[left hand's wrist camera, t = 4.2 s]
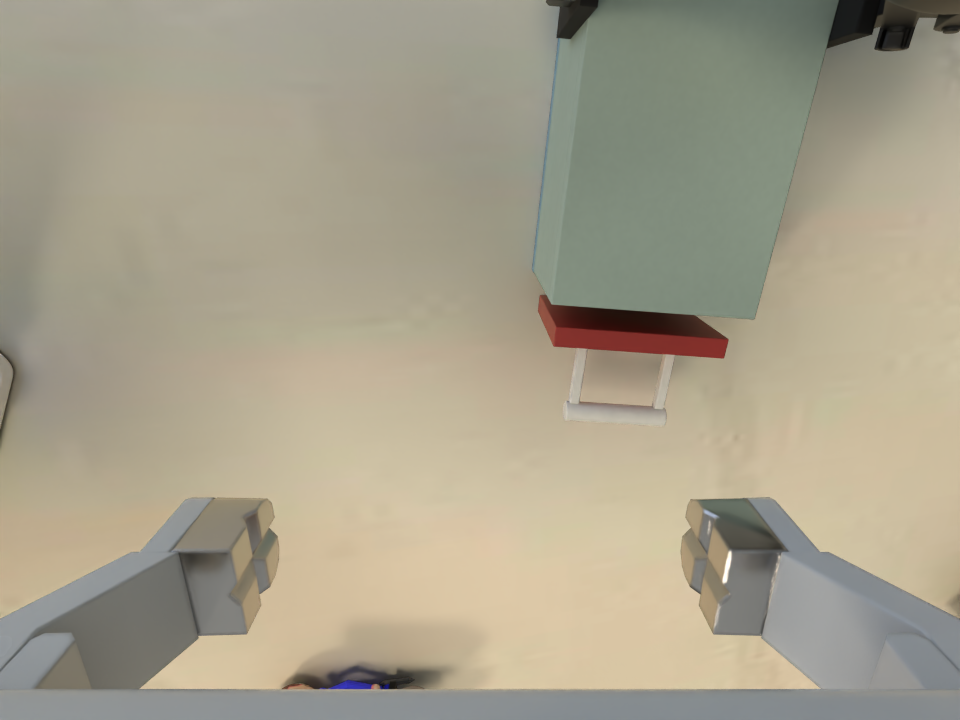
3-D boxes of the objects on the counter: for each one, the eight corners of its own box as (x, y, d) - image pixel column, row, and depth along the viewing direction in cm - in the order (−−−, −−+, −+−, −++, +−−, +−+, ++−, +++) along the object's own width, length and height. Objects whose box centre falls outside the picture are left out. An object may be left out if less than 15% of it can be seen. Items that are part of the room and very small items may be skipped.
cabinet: (688, 282, 39) (755, 320, 30) (532, 270, 38) (551, 304, 29) (751, -11, 33) (860, -77, 23) (565, -30, 32) (603, -105, 23)
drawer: (661, 395, 41) (702, 446, 33) (528, 386, 40) (541, 435, 33) (732, 61, 33) (805, 34, 26) (569, 46, 33) (597, 14, 25)
